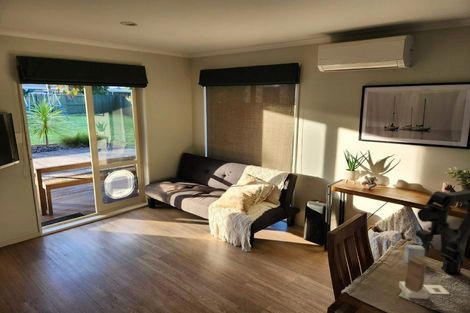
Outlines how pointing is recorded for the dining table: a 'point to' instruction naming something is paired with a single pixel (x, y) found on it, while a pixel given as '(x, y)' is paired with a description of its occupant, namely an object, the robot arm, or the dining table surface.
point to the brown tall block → (415, 273)
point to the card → (435, 289)
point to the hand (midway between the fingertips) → (435, 250)
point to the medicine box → (413, 252)
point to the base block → (411, 293)
